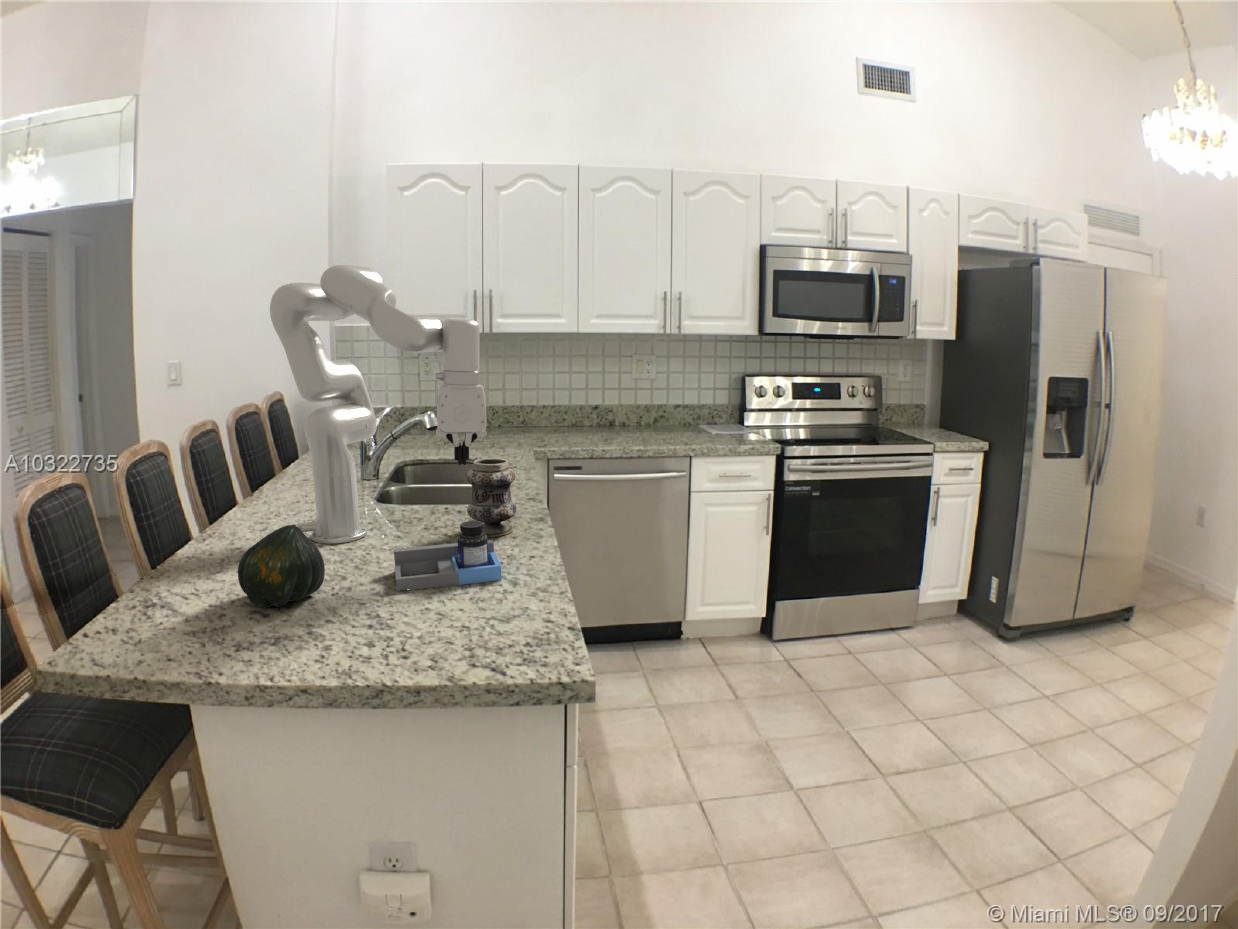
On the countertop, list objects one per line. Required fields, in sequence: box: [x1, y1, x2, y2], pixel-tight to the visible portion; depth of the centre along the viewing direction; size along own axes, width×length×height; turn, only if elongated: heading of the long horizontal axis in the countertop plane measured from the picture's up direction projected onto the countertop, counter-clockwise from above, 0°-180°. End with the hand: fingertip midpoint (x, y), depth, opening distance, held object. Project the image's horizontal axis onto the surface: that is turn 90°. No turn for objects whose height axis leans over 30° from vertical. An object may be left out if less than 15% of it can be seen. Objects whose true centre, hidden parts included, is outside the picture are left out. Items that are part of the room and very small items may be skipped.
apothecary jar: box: [466, 457, 517, 538], centre depth 175 cm, size 12×12×18 cm
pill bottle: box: [456, 520, 489, 569], centre depth 146 cm, size 6×6×11 cm
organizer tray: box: [393, 539, 503, 592], centre depth 146 cm, size 20×12×5 cm, turn 108°
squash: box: [237, 523, 326, 609], centre depth 133 cm, size 14×15×15 cm
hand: (461, 463), depth 153 cm, fingers closed
